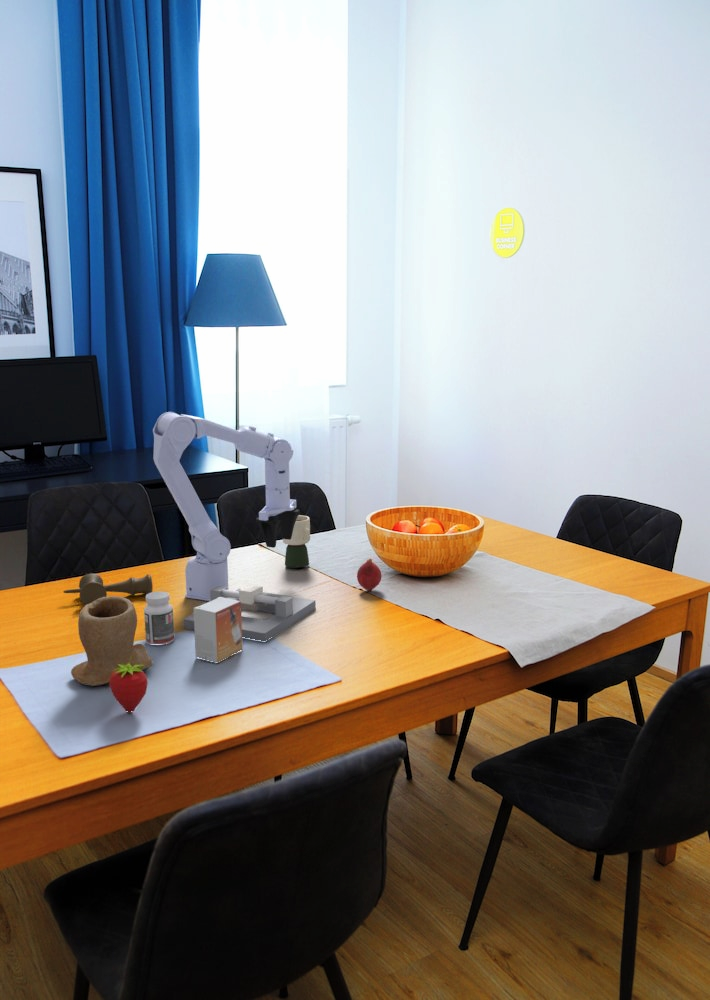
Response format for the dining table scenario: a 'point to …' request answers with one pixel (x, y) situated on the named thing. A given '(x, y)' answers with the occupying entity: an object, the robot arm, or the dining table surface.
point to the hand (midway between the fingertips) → (279, 542)
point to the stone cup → (108, 640)
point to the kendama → (109, 587)
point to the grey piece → (280, 605)
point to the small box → (218, 629)
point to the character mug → (298, 544)
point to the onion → (369, 575)
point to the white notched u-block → (250, 597)
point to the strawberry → (128, 685)
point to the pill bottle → (158, 618)
